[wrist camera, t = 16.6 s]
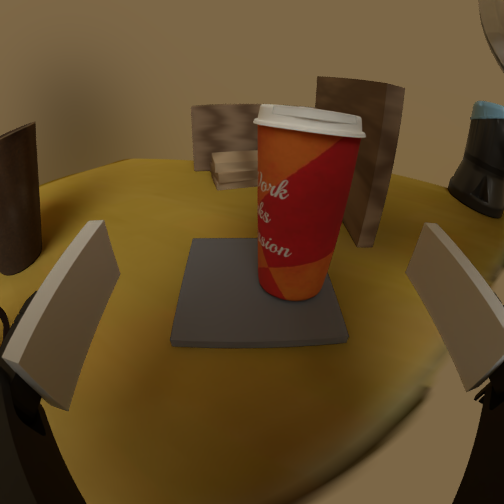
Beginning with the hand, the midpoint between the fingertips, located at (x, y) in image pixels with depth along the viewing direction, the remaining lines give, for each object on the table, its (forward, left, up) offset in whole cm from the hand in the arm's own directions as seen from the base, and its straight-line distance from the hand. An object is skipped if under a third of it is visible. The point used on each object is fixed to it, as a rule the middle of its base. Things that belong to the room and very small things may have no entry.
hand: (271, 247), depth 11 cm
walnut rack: (-2, -28, -11) cm, 30 cm away
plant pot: (+31, -13, -11) cm, 35 cm away
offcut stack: (0, -35, -11) cm, 36 cm away
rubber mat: (0, -9, -11) cm, 14 cm away
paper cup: (-3, -9, -10) cm, 14 cm away
